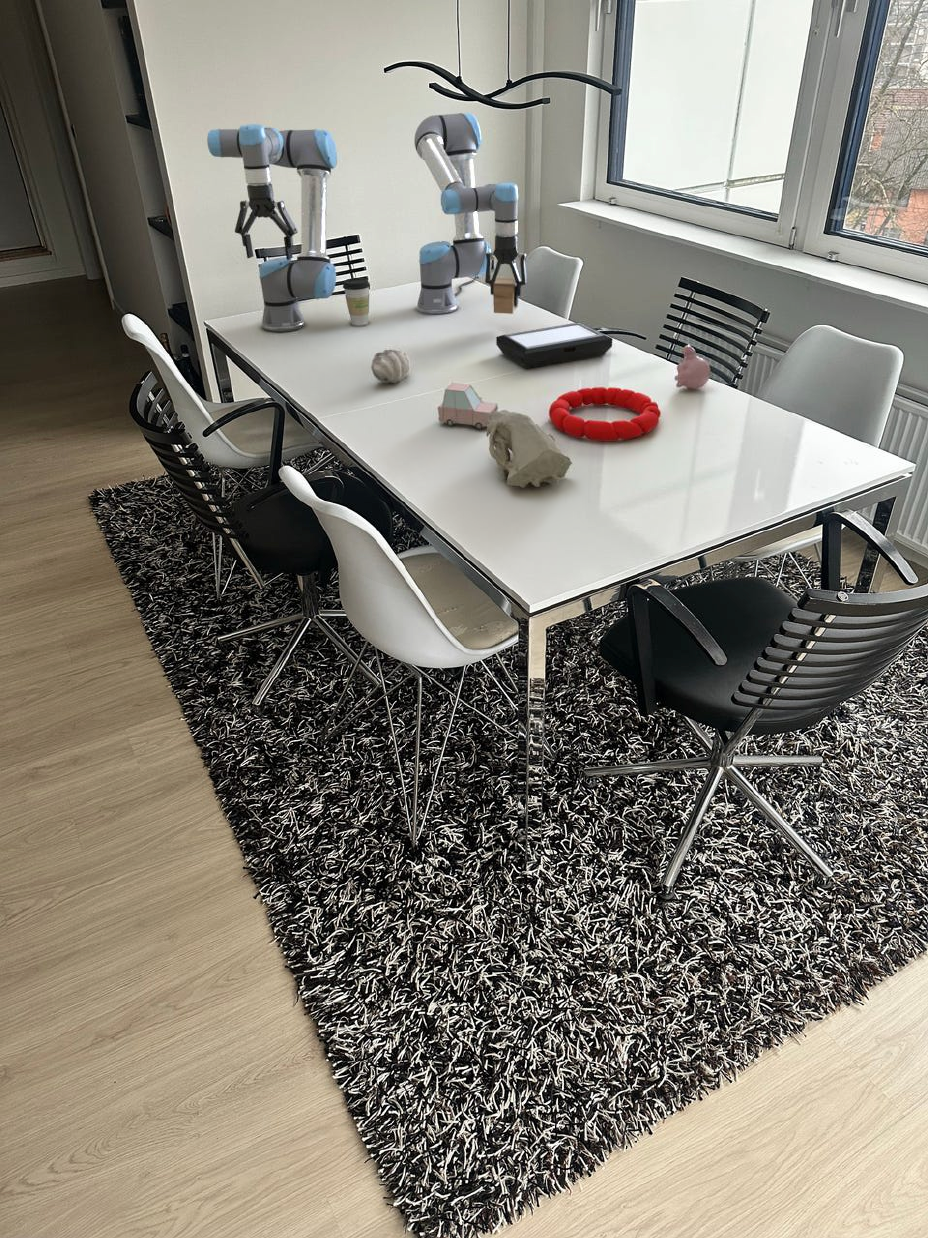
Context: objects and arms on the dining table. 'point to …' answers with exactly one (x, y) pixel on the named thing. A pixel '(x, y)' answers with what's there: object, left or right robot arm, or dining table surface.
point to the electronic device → (553, 344)
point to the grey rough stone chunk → (525, 450)
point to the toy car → (465, 406)
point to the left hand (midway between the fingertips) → (269, 257)
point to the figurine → (692, 370)
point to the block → (504, 295)
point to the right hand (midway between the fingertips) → (505, 304)
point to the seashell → (390, 366)
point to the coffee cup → (357, 300)
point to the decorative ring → (604, 428)
